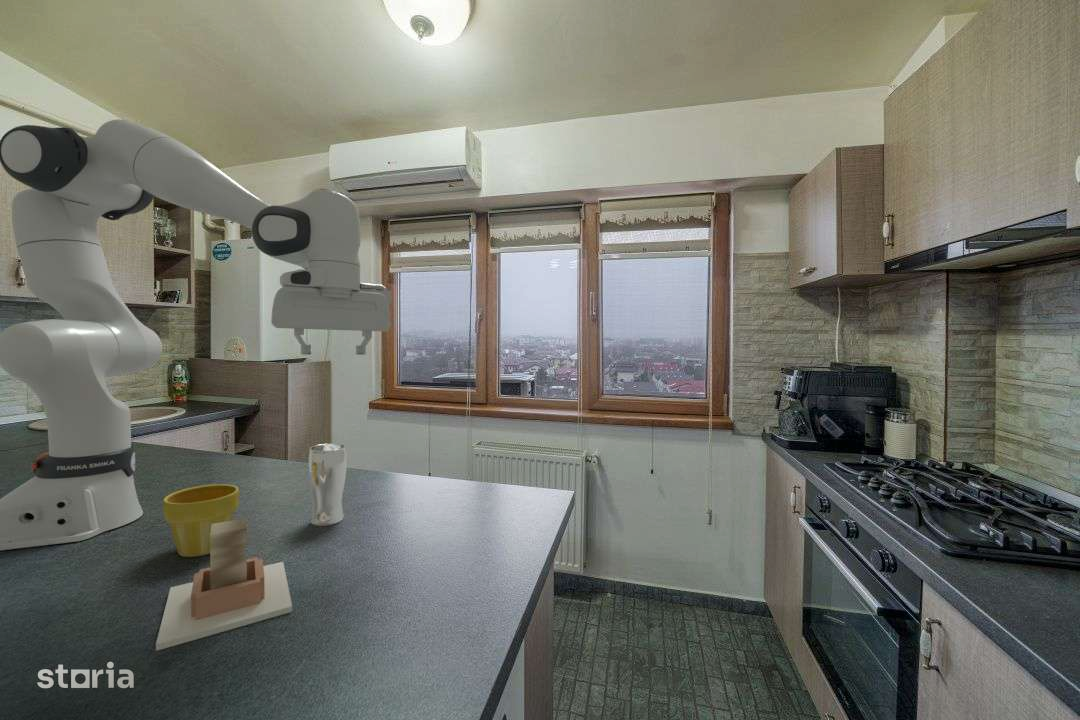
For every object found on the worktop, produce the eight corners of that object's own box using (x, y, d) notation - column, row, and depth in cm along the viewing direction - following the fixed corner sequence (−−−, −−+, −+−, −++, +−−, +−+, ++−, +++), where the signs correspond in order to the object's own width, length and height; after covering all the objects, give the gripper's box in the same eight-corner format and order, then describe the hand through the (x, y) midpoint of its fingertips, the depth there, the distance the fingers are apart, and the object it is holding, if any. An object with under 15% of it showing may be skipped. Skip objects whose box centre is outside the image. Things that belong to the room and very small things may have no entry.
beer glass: (331, 529, 85) (331, 452, 85) (299, 525, 87) (300, 449, 86) (353, 515, 92) (353, 444, 91) (324, 511, 93) (324, 441, 93)
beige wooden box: (210, 608, 59) (210, 534, 58) (212, 593, 62) (211, 524, 61) (246, 599, 61) (246, 528, 60) (246, 585, 64) (246, 518, 64)
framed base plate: (155, 650, 52) (155, 619, 51) (170, 592, 63) (170, 566, 63) (292, 611, 60) (292, 584, 59) (283, 566, 71) (283, 543, 71)
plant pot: (198, 533, 82) (197, 482, 81) (252, 536, 81) (252, 484, 81) (146, 562, 71) (145, 502, 71) (208, 564, 71) (208, 505, 71)
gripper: (387, 287, 90) (386, 354, 91) (270, 276, 79) (270, 353, 80) (395, 284, 85) (394, 355, 86) (272, 272, 74) (272, 355, 74)
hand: (334, 354), depth 83 cm, fingers open, 8 cm apart
